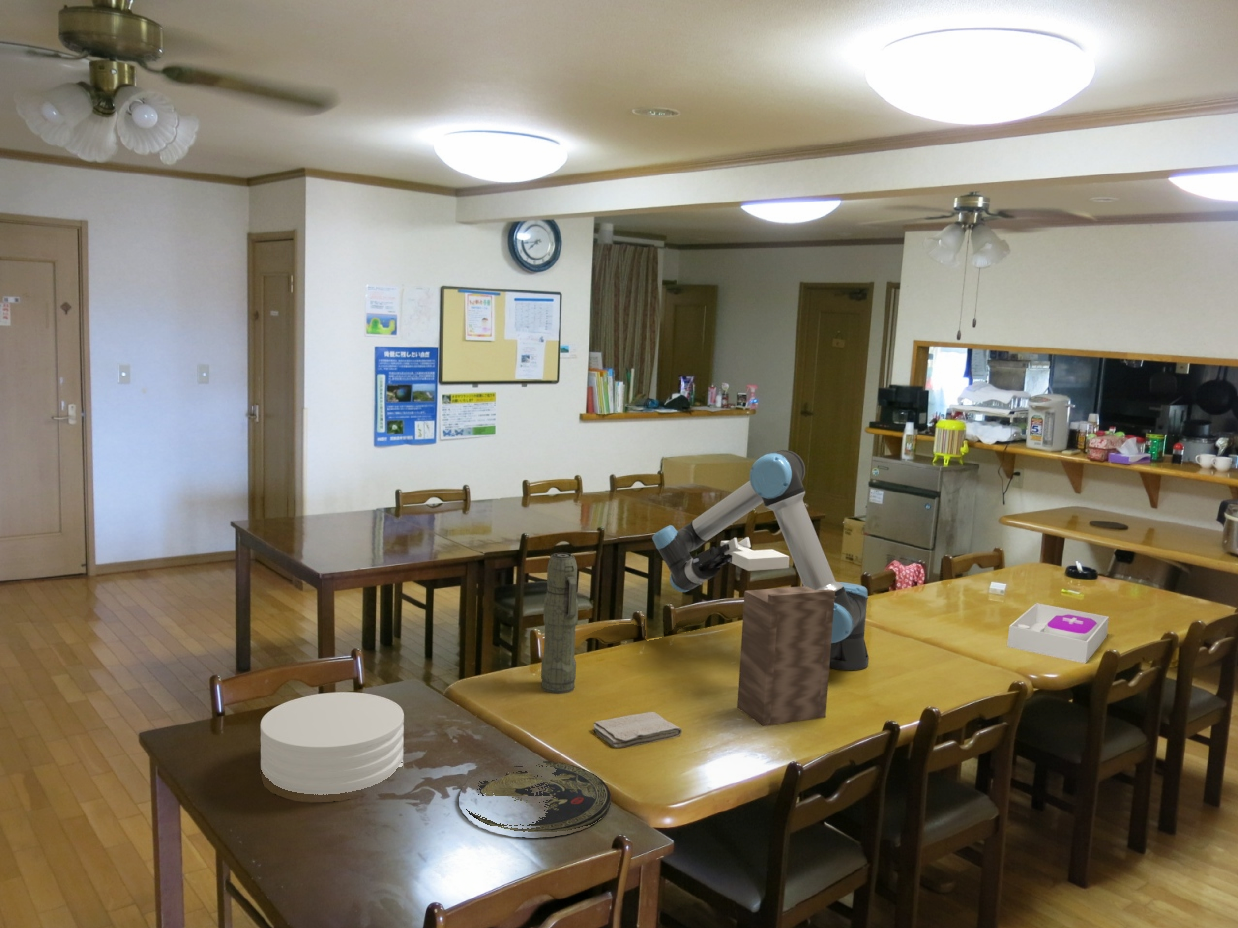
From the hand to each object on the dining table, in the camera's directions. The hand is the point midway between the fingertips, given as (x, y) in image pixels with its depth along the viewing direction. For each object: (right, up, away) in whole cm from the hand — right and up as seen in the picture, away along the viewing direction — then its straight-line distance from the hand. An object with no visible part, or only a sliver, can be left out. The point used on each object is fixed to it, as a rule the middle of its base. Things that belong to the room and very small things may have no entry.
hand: (742, 542), depth 257 cm
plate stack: (-91, -43, -57) cm, 116 cm away
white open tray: (+107, -36, +53) cm, 125 cm away
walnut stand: (+8, -41, -16) cm, 44 cm away
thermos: (-48, -37, -6) cm, 61 cm away
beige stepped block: (+1, -4, -2) cm, 5 cm away
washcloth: (-29, -42, -32) cm, 60 cm away
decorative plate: (-49, -46, -65) cm, 94 cm away
